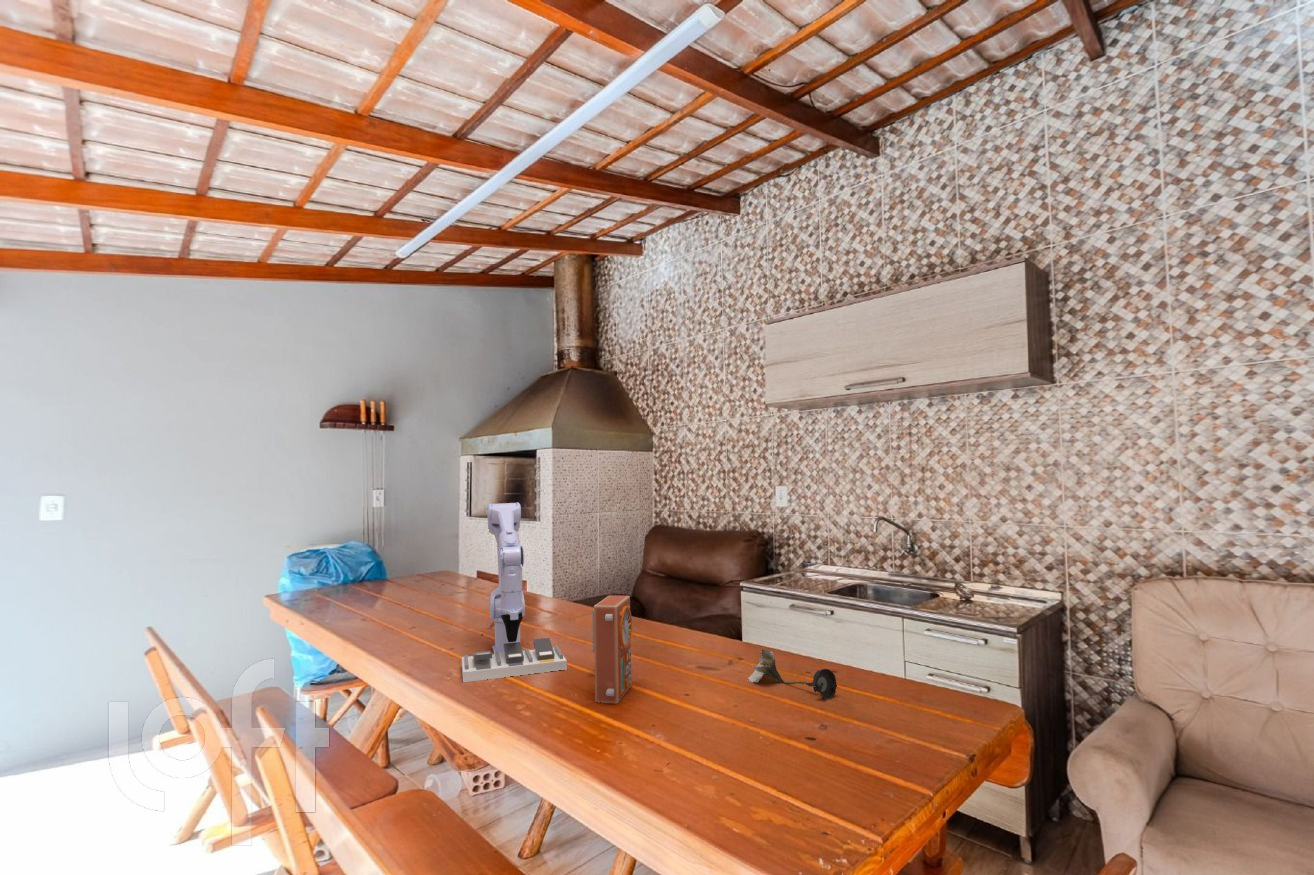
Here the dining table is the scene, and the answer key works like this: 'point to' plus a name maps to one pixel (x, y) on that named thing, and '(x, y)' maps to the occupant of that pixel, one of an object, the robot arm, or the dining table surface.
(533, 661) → the switch board
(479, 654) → the rocker
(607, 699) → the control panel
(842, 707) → the dining table surface
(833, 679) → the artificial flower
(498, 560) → the robot arm
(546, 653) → the block
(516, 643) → the middle rocker
